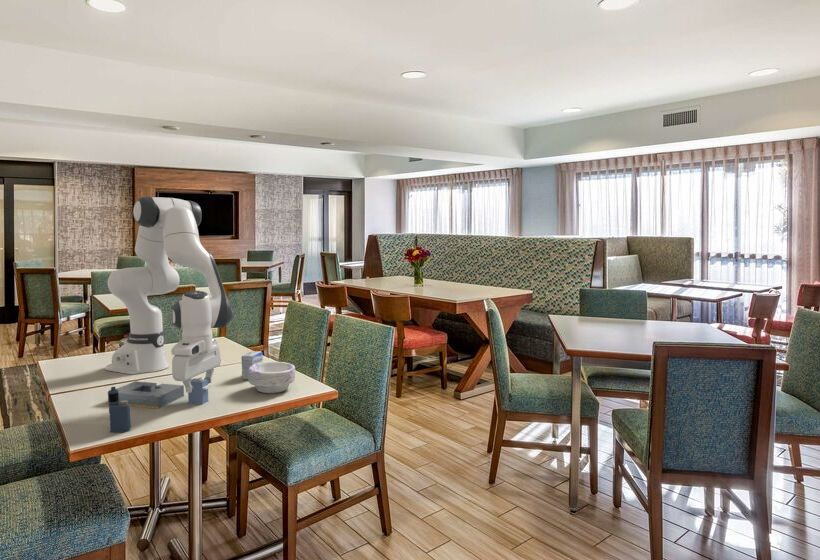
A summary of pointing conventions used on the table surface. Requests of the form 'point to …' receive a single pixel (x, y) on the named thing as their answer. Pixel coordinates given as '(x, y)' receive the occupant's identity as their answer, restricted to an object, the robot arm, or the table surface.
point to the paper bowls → (271, 376)
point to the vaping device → (118, 412)
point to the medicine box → (250, 362)
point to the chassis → (149, 394)
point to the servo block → (199, 391)
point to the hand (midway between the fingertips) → (199, 387)
